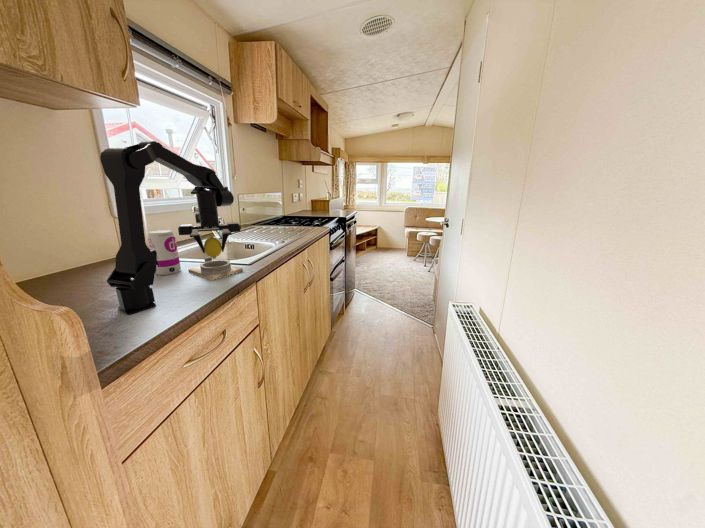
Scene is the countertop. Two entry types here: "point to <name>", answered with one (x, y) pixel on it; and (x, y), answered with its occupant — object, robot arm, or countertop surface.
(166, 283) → the countertop surface
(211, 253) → the lemon
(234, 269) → the carrier board
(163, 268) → the supplement can
